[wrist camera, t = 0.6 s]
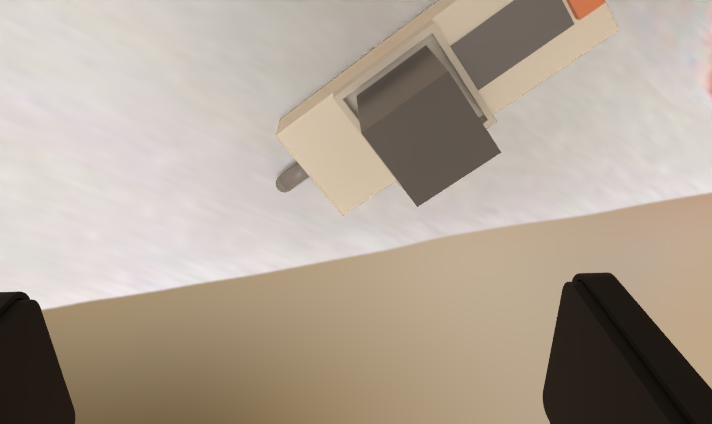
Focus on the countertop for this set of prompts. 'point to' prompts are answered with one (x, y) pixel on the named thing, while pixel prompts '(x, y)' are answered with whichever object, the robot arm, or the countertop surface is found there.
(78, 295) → the countertop surface
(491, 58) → the power strip
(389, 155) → the block
